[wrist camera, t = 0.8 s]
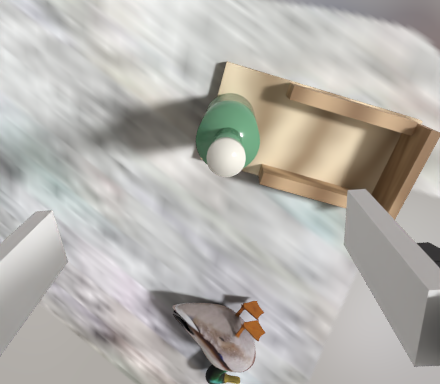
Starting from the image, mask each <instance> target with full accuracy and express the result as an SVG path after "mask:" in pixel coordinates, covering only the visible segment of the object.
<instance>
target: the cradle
mask: <svg viewBox="0 0 440 384" xmlns="http://www.w3.org/2000/svg"><path fill="white" fill-rule="evenodd" d="M227 93H234V94H238V95H241V96H243V97H244V98H246V99H247V100H248V101H249V102H250V104H251V105H252V107H253V110H254V113H255V118H256V122H257V126H258V130H259V135H260V147H259V150H258V153H257V155H256V157H255V158H254V160H253V161H252V162H251V163H250V164H249V165H247V166H246V167H244V168H243V169H242V170H241V171H244V172H247V173H251V174H255V175H258V176H259V183H260V184H261V185H265V186H268V187H272V188H275V189H279V190H282V191H286V192H290V193H293V194H297V195H300V196H304V197H307V198H311V199H314V200H318V201H322V202H325V203H329V204H332V205H336V206H339V207H343V208H346V207H347V191H348V190H357V189H366V190H367V191H368V192H369V193H370V194H371V195H372V196H373V197H374V198H375V199H376V201H377V202H378V203H379V204H380V205H381V206H382V207H383V208H384V209H385V210H386V211H387V212H388V213H389V214H390V215H391V217H392V218H393V219H394V220H395V218H396V216H397V215H398V213H399V211H400V209H401V207H402V206H403V204H404V201H405V200H406V198H407V196H408V194H409V193H410V191H411V189H412V187H413V185H414V183H415V182H416V180H417V178H418V176H419V174H420V172H421V171H422V169H423V167H424V165H425V163H426V161H427V159H428V158H429V156H430V154H431V152H432V150H433V148H434V147H435V145H436V143H437V141H438V139H439V137H440V132H437V131H435V130H433V129H430V128H428V127H426V126H424V125H421V123H422V121H421V120H419V119H416V118H412V117H409V116H406V115H403V114H399V113H396V112H393V111H389V110H386V109H383V108H379V107H376V106H373V105H369V104H366V103H363V102H359V101H356V100H353V99H350V98H346V97H343V96H340V95H336V94H333V93H330V92H326V91H323V90H320V89H316V88H313V87H310V86H307V85H303V84H300V83H297V82H293V81H290V80H287V79H283V78H280V77H277V76H273V75H270V74H267V73H264V72H260V71H257V70H254V69H250V68H247V67H244V66H240V65H237V64H234V63H230V62H227V63H226V66H225V70H224V74H223V78H222V81H221V85H220V89H219V92H218V96H220V95H223V94H227ZM218 96H217V97H218ZM201 160H202V158H201Z"/></svg>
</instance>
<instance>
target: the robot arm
mask: <svg viewBox="0 0 440 384" xmlns="http://www.w3.org/2000/svg"><path fill="white" fill-rule="evenodd" d="M344 246H345V247H346V249H347V251H348V252H349V254H350V256H351V258H352V259H353V261H354V263H355V265H356V266H357V268H358V270H359V272H360V273H361V275H362V277H363V278H364V280H365V282H366V284H367V285H368V287H369V289H370V291H371V292H372V294H373V295H374V298H375V299H376V301H377V303H378V304H379V306H380V308H381V310H382V311H383V313H384V315H385V317H386V318H387V320H388V322H389V323H390V325H391V327H392V329H393V330H394V332H395V334H396V336H397V337H398V339H399V341H400V343H401V344H402V346H403V348H404V350H405V351H406V353H407V355H408V356H409V358H410V360H411V362H412V363H413V365H414V367H418V366H439V365H440V248H438V247H436V246H434V245H432V244H431V243H428V242H427V243H416V242H415V241H414V240H413V239H412V238H411V237H410V236H409V235H408V234H407V233H406V231H405V230H404V229H403V228H402V227H401V226H400V225H399V224H398V223H397V222H396V221H395V220H394V219H393V218H392V217H391V215H390V214H389V213H388V212H387V211H386V210H385V209H384V208H383V207H382V206H381V205H380V204H379V203H378V202H377V201H376V199H375V198H374V197H373V196H372V195H371V194H370V193H369V192H368V191H367V190H366V189H357V190H348V191H347V207H346V222H345V237H344ZM67 262H68V260H67V257H66V253H65V250H64V247H63V243H62V240H61V237H60V234H59V230H58V227H57V224H56V220H55V217H54V214H53V210H52V211H38V212H35V213H34V214H33V215H32V216H31V217H29V218H28V219H27V220H26V221H25V222H24V223H23V224H22V225H21V226H19V227H18V228H17V229H16V230H15V231H14V232H13V233H12V234H11V235H9V236H8V237H7V238H6V239H5V240H4V241H3V242H2V243H1V244H0V356H1V355H2V353H3V352H4V350H5V349H6V348H7V346H8V345H9V343H10V342H11V341H12V339H13V338H14V336H15V335H16V334H17V332H18V331H19V329H20V328H21V327H22V325H23V324H24V322H25V321H26V320H27V318H28V317H29V315H30V314H31V313H32V311H33V310H34V309H35V307H36V306H37V304H38V303H39V302H40V300H41V299H42V297H43V296H44V295H45V293H46V292H47V290H48V289H49V288H50V286H51V285H52V283H53V282H54V281H55V279H56V278H57V276H58V275H59V274H60V272H61V271H62V269H63V268H64V267H65V265H66V264H67Z"/></svg>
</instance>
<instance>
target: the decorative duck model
mask: <svg viewBox="0 0 440 384" xmlns="http://www.w3.org/2000/svg"><path fill="white" fill-rule="evenodd" d="M241 305H242V304H241ZM172 308H173V309H174V312H175V313H177V314H178V315H179V316H180V317H182V318H183V319H184V320H185V321H184V320H182V319H181V318H180V317H178V316H176V315H174V314H173V315H174V317H175V318H176V319H177V321H178V322H179V323H180V324H181V325H182V326H183V327H184V329H185V330H186V331H187V332H188V333H189V334H190V336H191V337H192V338H193V339H194V340H195V341H196V342H197V343H198V344H199V345H200V347H201V349H202V350H203V352H204V354H205V355H206V357H207V358H208V360H209V361H210V362H211V363H212V364H213V365H211V366H210V367H209V368H208V370H207V372H206V380H207V382H208V383H209V384H220V383H227V382H229V383H236V384H239V383H240V378H239V377H237V376H230V375H227V374H226V373H225V372H228V371H230V372H244V371H246V370H248V369H249V368H250V367H251V366H252V365H253V363H254V361H255V354H256V353H255V344H254V339H256V340H257V341H259V338H260V337H261V336H262V335H263V334H264V333H265V332H264V330H263V329H262V327H261V326H260V324H259V322H258V321H259V319H258V318H259V316H260V315H261V314H263V313H264V312H263V311H262V310H261V308H260V307H259V305H258V303H257V301H252V302H249V303H244V304H243V305H242V307H241V309H240V310H239V311H238V312H237V313H235V312H234V311H233V310H231V309H229V308H227V307H226V306H223V305H219V304H211V303H181V304H176V305H173V306H172ZM243 310H247V311H248V312H249V313H250V314H251V315H252V316H253V317H254V318H256V319H257V320H256V321H250V322H244V321H243V319H242V318H241V317H240V316H239V315H240V314H241V313H242V311H243ZM253 338H254V339H253Z"/></svg>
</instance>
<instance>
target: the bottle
mask: <svg viewBox="0 0 440 384" xmlns="http://www.w3.org/2000/svg"><path fill="white" fill-rule="evenodd" d="M196 146H197V150H198V153H199V155H200V157H201V158H202V160H203V161H204V162H205V163H206V164H207V165H208V166H209V168H210V170H211V171H212V172H213V173H215V174H216V175H218V176H221V177H231V176H234V175H236V174H238V173H239V172H240V171H241V170H242V169H243V168H244V167H246V166H247V165H249V164H250V163H251V162H252V161H253V160H254V158H255V157H256V155H257V153H258V150H259V147H260V135H259V130H258V126H257V122H256V118H255V113H254V110H253V107H252V105H251V104H250V102H249V101H248V100H247V99H246V98H244V97H243V96H241V95H238V94H234V93H227V94H223V95H220V96H218V97H217V98H215V99H214V100H213V101H212V102H211V103H210V105H209V107H208V109H207V111H206V113H205V115H204V117H203V120H202V122H201V124H200V126H199V128H198V131H197V135H196Z"/></svg>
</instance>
